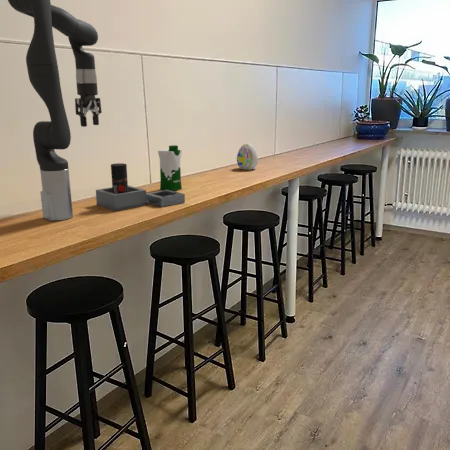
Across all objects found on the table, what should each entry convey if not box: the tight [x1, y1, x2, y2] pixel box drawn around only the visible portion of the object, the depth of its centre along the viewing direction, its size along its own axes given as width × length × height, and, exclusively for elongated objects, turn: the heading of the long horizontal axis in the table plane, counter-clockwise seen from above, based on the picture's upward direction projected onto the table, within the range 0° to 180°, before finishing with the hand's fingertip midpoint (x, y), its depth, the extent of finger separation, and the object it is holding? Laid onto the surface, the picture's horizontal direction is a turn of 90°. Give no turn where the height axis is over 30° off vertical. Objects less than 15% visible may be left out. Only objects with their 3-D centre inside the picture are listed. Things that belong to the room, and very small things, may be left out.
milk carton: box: [157, 144, 183, 192], centre depth 203 cm, size 9×9×20 cm
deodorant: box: [110, 162, 129, 194], centre depth 175 cm, size 6×6×15 cm
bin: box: [95, 185, 148, 212], centre depth 177 cm, size 14×14×6 cm
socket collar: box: [146, 190, 186, 208], centre depth 182 cm, size 12×12×4 cm
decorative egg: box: [236, 142, 259, 171], centre depth 261 cm, size 12×12×15 cm
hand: (90, 125), depth 176 cm, fingers open, 8 cm apart
